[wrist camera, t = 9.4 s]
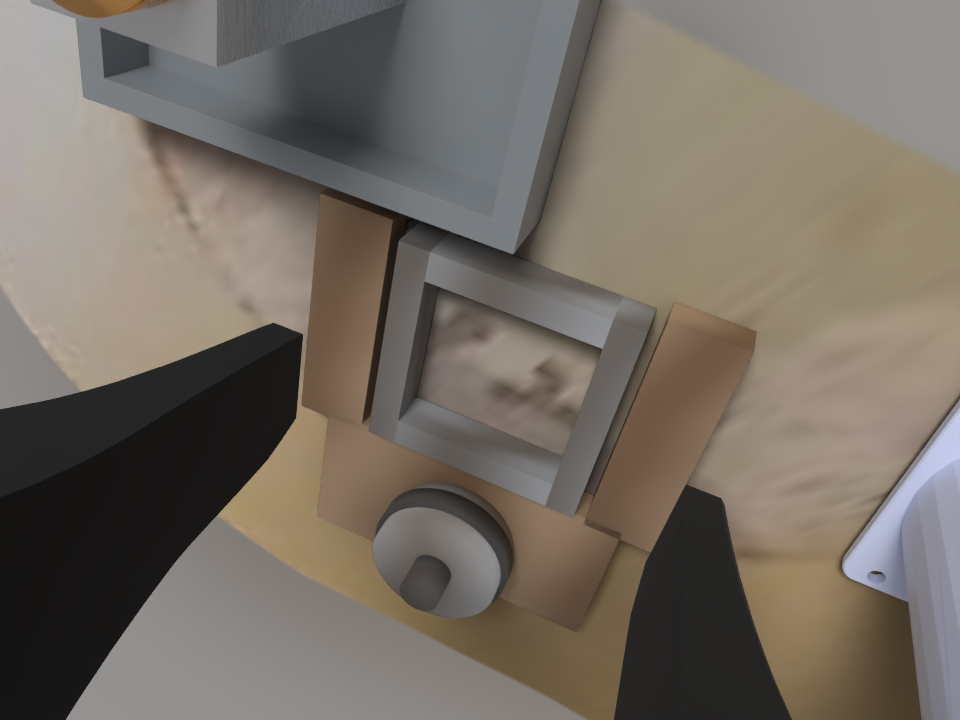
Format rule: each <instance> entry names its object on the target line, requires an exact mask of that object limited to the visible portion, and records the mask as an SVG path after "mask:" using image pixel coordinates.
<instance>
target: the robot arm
mask: <svg viewBox="0 0 960 720" xmlns="http://www.w3.org/2000/svg"><path fill="white" fill-rule="evenodd" d="M302 340H303V334H301V333H298V332H296V331H293V330H291V329H288V328H285V327H283V326H280V325H278V324H275V323H272V324H269V325H266V326H263V327H261V328H258V329H256V330H253V331H251V332H248V333H246V334H243V335H241V336H238V337H236V338H233V339H231V340H228V341H226V342H224V343H221V344H219V345H216V346H214V347H211V348H209V349H206V350H204V351H201V352H198V353H196V354H193V355H191V356H188V357H186V358H183V359H181V360H178V361H176V362H173V363H170V364H167V365H164V366H162V367H159V368H156V369H153V370H150V371H147V372H144V373H141V374H138V375H135V376H132V377H129V378H127V379H124V380H121V381H118V382H114V383H111V384H108V385H105V386H101V387H98V388H94V389H91V390H87V391H83V392H79V393H75V394H72V395H67V396H63V397H59V398H55V399H51V400H46V401H42V402H37V403H31V404H26V405H21V406H16V407H10V408H5V409H0V720H66V718H67V716H68V715H69V713H70V712H71V710H72V709H73V707H74V705H75V704H76V702H77V701H78V699H79V698H80V696H81V695H82V693H83V692H84V690H85V689H86V687H87V686H88V684H89V683H90V681H91V680H92V678H93V677H94V675H95V674H96V672H97V671H98V669H99V668H100V666H101V665H102V663H103V662H104V660H105V659H106V657H107V656H108V654H109V652H110V651H111V650H112V648H113V647H114V645H115V644H116V643H117V641H118V640H119V638H120V637H121V636H122V634H123V633H124V631H125V630H126V628H127V627H128V626H129V624H130V623H131V621H132V620H133V619H134V617H135V616H136V614H137V613H138V611H139V610H140V609H141V607H142V606H143V604H144V603H145V602H146V600H147V599H148V598H149V596H150V595H151V594H152V592H153V591H154V590H155V588H156V587H157V586H158V584H159V583H160V582H161V580H162V579H163V578H164V576H165V575H166V573H167V572H168V571H169V569H170V568H171V567H172V565H173V564H174V563H175V562H176V560H177V559H178V558H179V557H180V556H181V555H182V553H183V552H184V551H185V550H186V549H187V547H188V546H189V545H190V544H191V543H192V542H193V541H194V540H195V538H197V536H198V535H199V534H200V533H201V532H202V531H203V530H204V529H205V528H206V527H207V526H208V524H209V523H210V522H211V521H212V520H213V519H214V518H215V517H216V516H217V515H218V514H219V513H220V512H221V510H222V509H223V508H224V507H225V506H226V505H227V504H228V503H229V502H230V501H231V500H232V498H233V497H234V496H235V495H236V494H237V493H238V492H239V491H240V490H241V489H242V488H243V486H244V485H245V484H246V483H247V482H248V481H249V480H250V479H251V478H252V477H253V475H254V474H255V473H256V472H257V471H258V470H259V469H260V468H261V467H262V465H263V464H264V463H265V462H266V461H267V460H268V458H269V457H270V455H271V454H272V453H273V451H274V450H275V448H276V447H277V446H278V444H279V443H280V441H281V440H282V438H283V437H284V435H285V434H286V432H287V431H288V429H289V428H290V426H291V425H292V423H293V422H294V420H295V419H296V412H297V400H298V388H299V376H300V364H301V352H302ZM842 568H843V572H844V573H845V575H846V576H847V577H849V578H851V579H852V580H855V581H857V582H860V583H862V584H864V585H867V586H869V587H872V588H874V589H877V590H879V591H881V592H884V593H886V594H889V595H891V596H894V597H896V598H899V599H901V600H903V601H906V602H908V605H909V614H910V623H911V632H912V641H913V649H914V658H915V667H916V676H917V685H918V693H919V702H920V711H921V720H960V399H959V401H958V402H957V404H956V405H955V406H954V408H953V409H952V410H951V412H950V413H949V414H948V416H947V417H946V418H945V420H944V421H943V423H942V424H941V425H940V427H939V428H938V429H937V431H936V432H935V433H934V435H933V436H932V437H931V439H930V440H929V442H928V443H927V444H926V446H925V447H924V448H923V450H922V451H921V452H920V454H919V455H918V456H917V458H916V459H915V460H914V462H913V463H912V465H911V466H910V467H909V469H908V470H907V471H906V473H905V474H904V475H903V477H902V478H901V479H900V481H899V482H898V484H897V485H896V486H895V488H894V489H893V490H892V492H891V493H890V494H889V496H888V497H887V498H886V500H885V501H884V503H883V504H882V505H881V507H880V508H879V509H878V511H877V512H876V513H875V515H874V516H873V517H872V519H871V520H870V521H869V523H868V524H867V526H866V527H865V528H864V530H863V531H862V532H861V534H860V535H859V536H858V538H857V539H856V540H855V542H854V543H853V545H852V546H851V547H850V549H849V550H848V551H847V553H846V554H845V555H844V557H843V560H842ZM871 571H879V572H882V574H872V573H870V572H871ZM614 720H792V719H791V716H790V714H789V712H788V710H787V708H786V705H785V703H784V701H783V699H782V696H781V694H780V692H779V689H778V687H777V685H776V682H775V680H774V677H773V675H772V672H771V670H770V667H769V665H768V662H767V659H766V657H765V654H764V651H763V648H762V645H761V643H760V640H759V637H758V634H757V631H756V628H755V625H754V622H753V619H752V616H751V613H750V610H749V606H748V603H747V599H746V596H745V593H744V589H743V586H742V582H741V579H740V575H739V571H738V567H737V563H736V559H735V555H734V551H733V546H732V542H731V537H730V532H729V527H728V522H727V517H726V511H725V505H724V503H723V501H722V499H721V498H719V497H716V496H714V495H711V494H709V493H706V492H704V491H701V490H699V489H696V488H694V487H691V486H688V485H685V487H684V489H683V491H682V493H681V495H680V496H679V498H678V500H677V502H676V504H675V506H674V508H673V510H672V512H671V514H670V516H669V518H668V520H667V522H666V524H665V526H664V528H663V530H662V532H661V534H660V536H659V537H658V539H657V541H656V543H655V545H654V547H653V549H652V551H651V553H650V555H649V557H648V559H647V561H646V563H645V567H644V570H643V574H642V577H641V581H640V584H639V588H638V591H637V595H636V598H635V602H634V605H633V609H632V613H631V617H630V623H629V629H628V635H627V641H626V648H625V654H624V660H623V666H622V673H621V679H620V686H619V692H618V698H617V705H616V711H615V717H614Z"/></svg>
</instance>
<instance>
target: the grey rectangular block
mask: <svg viewBox="0 0 960 720" xmlns="http://www.w3.org/2000/svg"><path fill="white" fill-rule="evenodd" d="M405 2H406V0H31V3H32V4H35V5H38V6H41V7H44V8H47V9H50V10H52V11H55V12H58V13H61V14H64V15H67V16H70V17H72V18H75V19H78V20H81V21H84V22H87V23H90V24H93V25H95V26H98V27H101V28H104V29H107V30H110V31H113V32H116V33H118V34H121V35H124V36H127V37H130V38H133V39H136V40H138V41H141V42H144V43H147V44H150V45H153V46H156V47H159V48H161V49H164V50H167V51H170V52H173V53H176V54H179V55H182V56H184V57H187V58H190V59H193V60H196V61H199V62H202V63H204V64H207V65H210V66H213V67H216V68H217V67H220V66H223V65H226V64H229V63H232V62H234V61H237V60H240V59H243V58H246V57H249V56H252V55H255V54H258V53H261V52H263V51H266V50H269V49H272V48H275V47H278V46H281V45H284V44H287V43H289V42H292V41H295V40H298V39H301V38H304V37H307V36H310V35H313V34H315V33H318V32H321V31H324V30H327V29H330V28H333V27H336V26H339V25H342V24H344V23H347V22H350V21H353V20H356V19H359V18H362V17H365V16H368V15H370V14H373V13H376V12H379V11H382V10H385V9H388V8H391V7H394V6H396V5H399V4H402V3H405Z"/></svg>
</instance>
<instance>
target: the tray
mask: <svg viewBox="0 0 960 720" xmlns="http://www.w3.org/2000/svg"><path fill="white" fill-rule="evenodd" d="M600 1H601V0H406V2H405V3H402V4H399V5H396V6H394V7H391V8H388V9H385V10H382V11H379V12H376V13H373V14H370V15H368V16H365V17H362V18H359V19H356V20H353V21H350V22H347V23H344V24H342V25H339V26H336V27H333V28H330V29H327V30H324V31H321V32H318V33H315V34H313V35H310V36H307V37H304V38H301V39H298V40H295V41H292V42H289V43H287V44H284V45H281V46H278V47H275V48H272V49H269V50H266V51H263V52H261V53H258V54H255V55H252V56H249V57H246V58H243V59H240V60H237V61H234V62H232V63H229V64H226V65H223V66H220V67H217V68H216V67H213V66H210V65H207V64H204V63H202V62H199V61H196V60H193V59H190V58H187V57H184V56H182V55H179V54H176V53H173V52H170V51H167V50H164V49H161V48H159V47H156V46H153V45H150V44H147V43H144V42H141V41H138V40H136V39H133V38H130V37H127V36H124V35H121V34H118V33H116V32H113V31H110V30H107V29H104V28H101V27H98V26H95V25H93V24H90V23H87V22H84V21H81V20H78V19H76V25H77V36H78V46H79V57H80V67H81V77H82V88H83V97H84V98H87V99H90V100H92V101H95V102H98V103H100V104H103V105H106V106H109V107H111V108H114V109H117V110H120V111H122V112H125V113H128V114H131V115H133V116H136V117H139V118H141V119H144V120H147V121H150V122H152V123H155V124H158V125H161V126H163V127H166V128H169V129H171V130H174V131H177V132H180V133H182V134H185V135H188V136H191V137H193V138H196V139H199V140H202V141H204V142H207V143H210V144H212V145H215V146H218V147H221V148H223V149H226V150H229V151H232V152H234V153H237V154H240V155H242V156H245V157H248V158H251V159H253V160H256V161H259V162H262V163H264V164H267V165H270V166H273V167H275V168H278V169H281V170H283V171H286V172H289V173H292V174H294V175H297V176H300V177H303V178H305V179H308V180H311V181H313V182H316V183H319V184H322V185H324V186H327V187H330V188H333V189H335V190H338V191H341V192H344V193H346V194H349V195H352V196H354V197H357V198H360V199H363V200H365V201H368V202H371V203H374V204H376V205H379V206H382V207H385V208H387V209H390V210H393V211H395V212H398V213H401V214H404V215H406V216H409V217H412V218H415V219H417V220H420V221H423V222H425V223H428V224H431V225H434V226H436V227H439V228H442V229H445V230H447V231H450V232H453V233H456V234H458V235H461V236H464V237H466V238H469V239H472V240H475V241H477V242H480V243H483V244H486V245H488V246H491V247H494V248H496V249H499V250H502V251H505V252H507V253H510V254H514V253H515V252H516V250H517V249H518V248H519V247H520V245H521V244H522V243H523V241H524V240H525V239H526V238H527V236H528V235H529V234H530V232H531V231H532V230H533V229H534V227H535V226H536V225H537V224H538V222H539V221H540V219H541V215H542V212H543V208H544V204H545V201H546V197H547V194H548V190H549V186H550V183H551V179H552V175H553V172H554V168H555V165H556V161H557V157H558V154H559V150H560V146H561V143H562V139H563V136H564V132H565V128H566V125H567V121H568V117H569V114H570V110H571V107H572V103H573V99H574V96H575V92H576V88H577V85H578V81H579V78H580V74H581V70H582V67H583V63H584V59H585V56H586V52H587V49H588V45H589V41H590V38H591V34H592V30H593V27H594V23H595V20H596V16H597V12H598V9H599V5H600Z"/></svg>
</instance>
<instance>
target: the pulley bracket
mask: <svg viewBox="0 0 960 720" xmlns="http://www.w3.org/2000/svg"><path fill="white" fill-rule="evenodd" d="M407 220H408V216H406V215H404V214H401V213H398V212H395V211H393V210H390V209H387V208H385V207H382V206H379V205H376V204H374V203H371V202H368V201H365V200H363V199H360V198H357V197H354V196H352V195H349V194H346V193H344V192H341V191H338V190H335V189H333V188H330V187H329V188H328V189H326V190H325V191H323V192H322V193H320V203H319V215H318V226H317V237H316V248H315V259H314V270H313V281H312V293H311V304H310V315H309V326H308V337H307V348H306V359H305V370H304V382H303V393H302V404H301V405H302V406H304V407H306V408H309V409H311V410H313V411H316V412H318V413H321V414H323V415H325V416H328V424H327V433H326V441H325V450H324V458H323V467H322V475H321V484H320V492H319V501H318V509H317V516H318V517H320V518H322V519H325V520H327V521H329V522H331V523H334V524H336V525H338V526H340V527H343V528H345V529H347V530H349V531H352V532H354V533H356V534H358V535H360V536H363V537H365V538H367V539H369V540H372V541H374V543H373V556H374V561H375V564H376V566H377V569H378V571H379V572H380V574H381V576H382V577H383V579H384V580H385V581H386V583H387V584H388V585H389V586H390V587H391V588H392V589H393V590H394V591H395V592H396V593H397V594H398V595H399V596H400V597H402V598H403V599H404V600H405V602H406V603H408V604H409V605H410V606H412V607H414V608H416V609H418V610H422V611H426V612H428V613H431V614H434V615H438V616H442V617H448V618H466V617H471V616H474V615H477V614H479V613H481V612H482V611H484V610H485V609H486V608H487V607H488V606H489V605H490V603H492V602H494V601H495V600H496V599H497V598H498V597H499V598H501V599H504V600H506V601H508V602H510V603H512V604H515V605H517V606H519V607H521V608H524V609H526V610H528V611H530V612H533V613H535V614H537V615H539V616H542V617H544V618H546V619H548V620H550V621H553V622H555V623H557V624H559V625H562V626H564V627H566V628H568V629H571V630H573V631H575V632H577V630H578V628H579V626H580V624H581V621H582V619H583V617H584V615H585V613H586V611H587V609H588V607H589V604H590V602H591V600H592V598H593V596H594V594H595V592H596V589H597V587H598V585H599V583H600V581H601V579H602V577H603V574H604V572H605V570H606V568H607V566H608V564H609V562H610V559H611V557H612V555H613V553H614V551H615V549H616V547H617V544H618V542H619V540H621V541H624V542H626V543H629V544H631V545H633V546H636V547H638V548H640V549H643V550H645V551H648V552H650V553H651V551H652V549H653V547H654V545H655V543H656V541H657V539H658V537H659V536H660V534H661V532H662V530H663V528H664V526H665V524H666V522H667V520H668V518H669V516H670V514H671V512H672V510H673V508H674V506H675V504H676V502H677V500H678V498H679V496H680V495H681V493H682V491H683V489H684V487H685V485H686V484H687V482H688V480H689V478H690V476H691V474H692V472H693V470H694V468H695V466H696V464H697V462H698V460H699V458H700V456H701V454H702V453H703V451H704V449H705V447H706V445H707V443H708V441H709V439H710V437H711V435H712V433H713V431H714V429H715V427H716V425H717V423H718V421H719V419H720V417H721V415H722V413H723V411H724V409H725V408H726V406H727V404H728V402H729V400H730V398H731V396H732V394H733V392H734V390H735V388H736V386H737V384H738V382H739V380H740V378H741V376H742V374H743V372H744V370H745V368H746V366H747V364H748V363H749V361H750V359H751V357H752V355H753V352H754V345H755V338H756V331H753V330H750V329H748V328H745V327H742V326H739V325H737V324H734V323H731V322H728V321H726V320H723V319H720V318H717V317H715V316H712V315H709V314H706V313H704V312H701V311H698V310H695V309H693V308H690V307H687V306H684V305H682V304H679V303H676V302H674V305H673V307H672V309H671V312H670V314H669V317H668V319H667V321H666V324H665V326H664V328H663V331H662V333H661V336H660V338H659V340H658V343H657V345H656V348H655V350H654V352H653V355H652V357H651V360H650V362H649V364H648V367H647V369H646V372H645V374H644V376H643V379H642V381H641V384H640V386H639V388H638V391H637V393H636V396H635V398H634V400H633V403H632V405H631V408H630V410H629V412H628V415H627V417H626V420H625V422H624V424H623V427H622V429H621V432H620V434H619V436H618V439H617V441H616V444H615V446H614V448H613V451H612V453H611V456H610V458H609V460H608V463H607V465H606V468H605V470H604V472H603V475H602V477H601V480H600V482H599V484H598V487H597V489H596V492H595V494H594V495H592V494H589V493H587V492H584V489H585V487H586V484H587V482H588V479H589V477H590V474H591V472H592V469H593V467H594V464H595V462H596V459H597V457H598V454H599V452H600V449H601V447H602V445H603V442H604V440H605V437H606V435H607V432H608V430H609V427H610V425H611V422H612V420H613V417H614V415H615V412H616V410H617V407H618V405H619V402H620V400H621V397H622V395H623V393H624V390H625V388H626V385H627V383H628V380H629V378H630V375H631V373H632V370H633V368H634V365H635V363H636V360H637V358H638V355H639V353H640V350H641V348H642V345H643V343H644V341H645V338H646V336H647V333H648V330H649V328H650V325H651V322H652V320H653V317H654V314H655V311H656V308H654V307H651V306H648V305H645V304H643V303H640V302H637V301H635V300H632V299H629V298H626V297H624V296H621V295H618V294H615V293H613V292H610V291H607V290H605V289H602V288H599V287H596V286H594V285H591V284H588V283H585V282H583V281H580V280H577V279H575V278H572V277H569V276H566V275H564V274H561V273H558V272H555V271H553V270H550V269H547V268H544V267H542V266H539V265H536V264H534V263H531V262H528V261H525V260H523V259H520V258H517V257H514V256H512V255H509V254H506V253H504V252H501V251H498V250H495V249H493V248H490V247H487V246H484V245H482V244H479V243H476V242H474V241H471V240H468V239H465V238H463V237H460V236H457V235H454V234H452V233H449V232H446V231H444V230H441V229H438V228H435V227H433V226H430V225H427V224H424V223H422V222H419V223H418V224H417V225H416V226H415V227H413V228H412V229H411V230H410V231H409V232H408V233H407V234H406V235H405V233H406V227H407ZM438 287H441V288H443V289H446V290H449V291H451V292H454V293H456V294H459V295H462V296H464V297H467V298H470V299H472V300H475V301H478V302H480V303H483V304H485V305H488V306H491V307H493V308H496V309H499V310H501V311H504V312H506V313H509V314H512V315H514V316H517V317H520V318H522V319H525V320H528V321H530V322H533V323H535V324H538V325H541V326H543V327H546V328H549V329H551V330H554V331H556V332H559V333H562V334H564V335H567V336H570V337H572V338H575V339H577V340H580V341H583V342H585V343H588V344H591V345H593V346H596V347H599V348H601V349H602V352H601V355H600V357H599V360H598V363H597V365H596V368H595V371H594V374H593V376H592V379H591V382H590V385H589V387H588V390H587V393H586V395H585V398H584V401H583V404H582V406H581V409H580V412H579V414H578V417H577V420H576V423H575V425H574V428H573V431H572V433H571V436H570V439H569V442H568V444H567V447H566V450H565V452H564V455H563V457H562V456H560V455H557V454H555V453H552V452H550V451H548V450H545V449H543V448H540V447H538V446H535V445H533V444H530V443H528V442H526V441H523V440H521V439H518V438H516V437H513V436H511V435H508V434H506V433H504V432H501V431H499V430H496V429H494V428H491V427H489V426H486V425H484V424H481V423H479V422H477V421H474V420H472V419H469V418H467V417H464V416H462V415H459V414H457V413H455V412H452V411H450V410H447V409H445V408H442V407H440V406H437V405H435V404H433V403H430V402H428V401H425V400H423V399H420V398H418V397H416V396H417V391H418V386H419V381H420V376H421V371H422V366H423V361H424V356H425V351H426V346H427V341H428V336H429V332H430V327H431V322H432V317H433V312H434V307H435V302H436V297H437V292H438Z"/></svg>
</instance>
